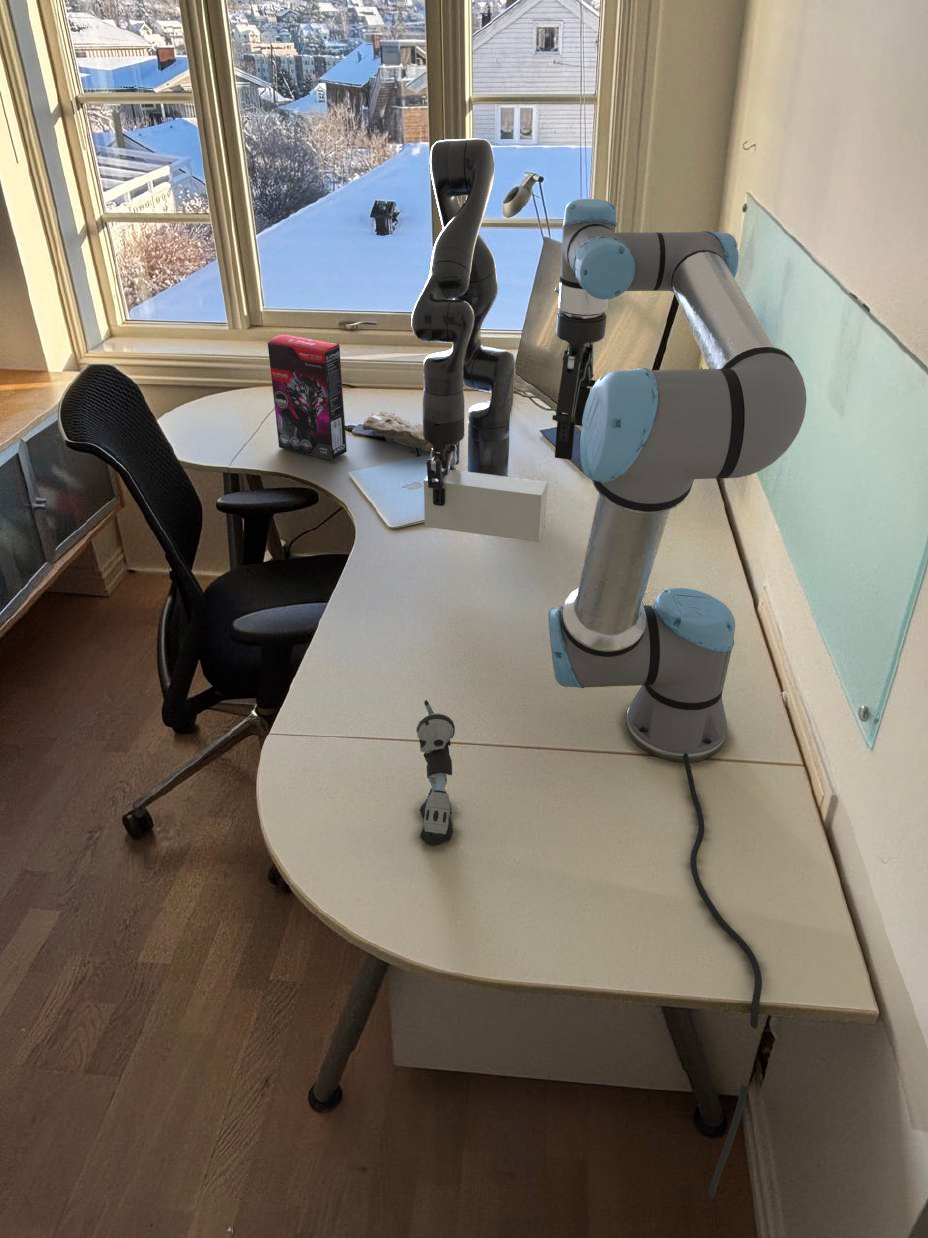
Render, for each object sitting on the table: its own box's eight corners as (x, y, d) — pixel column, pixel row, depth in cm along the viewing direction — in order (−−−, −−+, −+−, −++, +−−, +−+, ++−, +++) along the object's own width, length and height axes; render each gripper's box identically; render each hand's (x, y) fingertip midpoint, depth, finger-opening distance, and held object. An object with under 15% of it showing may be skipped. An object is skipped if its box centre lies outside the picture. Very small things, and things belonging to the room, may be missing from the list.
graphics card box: (276, 448, 231) (264, 340, 216) (293, 439, 236) (282, 332, 221) (333, 462, 225) (324, 351, 209) (349, 452, 230) (341, 343, 214)
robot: (457, 879, 118) (458, 763, 107) (419, 880, 118) (416, 764, 107) (451, 772, 135) (451, 662, 123) (418, 773, 134) (415, 663, 123)
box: (544, 527, 177) (547, 481, 171) (538, 542, 172) (541, 495, 166) (433, 512, 181) (433, 467, 176) (424, 526, 177) (423, 480, 171)
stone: (346, 435, 230) (351, 411, 228) (368, 426, 244) (372, 404, 241) (425, 459, 227) (430, 436, 224) (442, 449, 240) (447, 427, 238)
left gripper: (435, 397, 173) (436, 479, 182) (411, 425, 161) (413, 511, 170) (473, 401, 171) (472, 483, 180) (452, 430, 159) (452, 516, 169)
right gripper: (572, 286, 151) (563, 409, 163) (540, 334, 131) (532, 469, 143) (618, 290, 149) (605, 414, 161) (592, 339, 129) (580, 476, 142)
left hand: (444, 496), depth 175 cm, fingers closed on box, 6 cm apart
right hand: (571, 440), depth 152 cm, fingers open, 13 cm apart
